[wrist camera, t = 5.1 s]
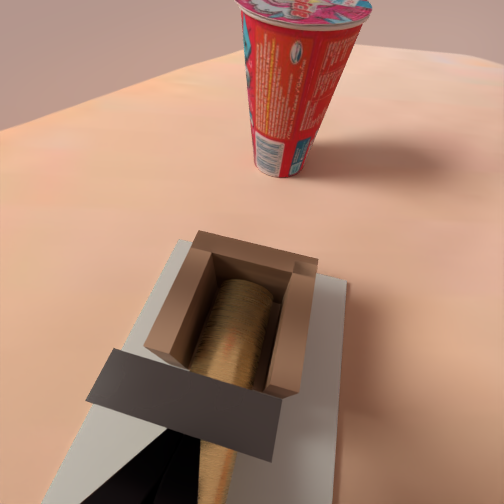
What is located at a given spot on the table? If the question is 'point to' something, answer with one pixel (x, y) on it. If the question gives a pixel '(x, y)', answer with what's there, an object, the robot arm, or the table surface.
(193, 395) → the sliding bolt
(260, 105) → the cup
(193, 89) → the table surface
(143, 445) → the board
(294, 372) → the socket
